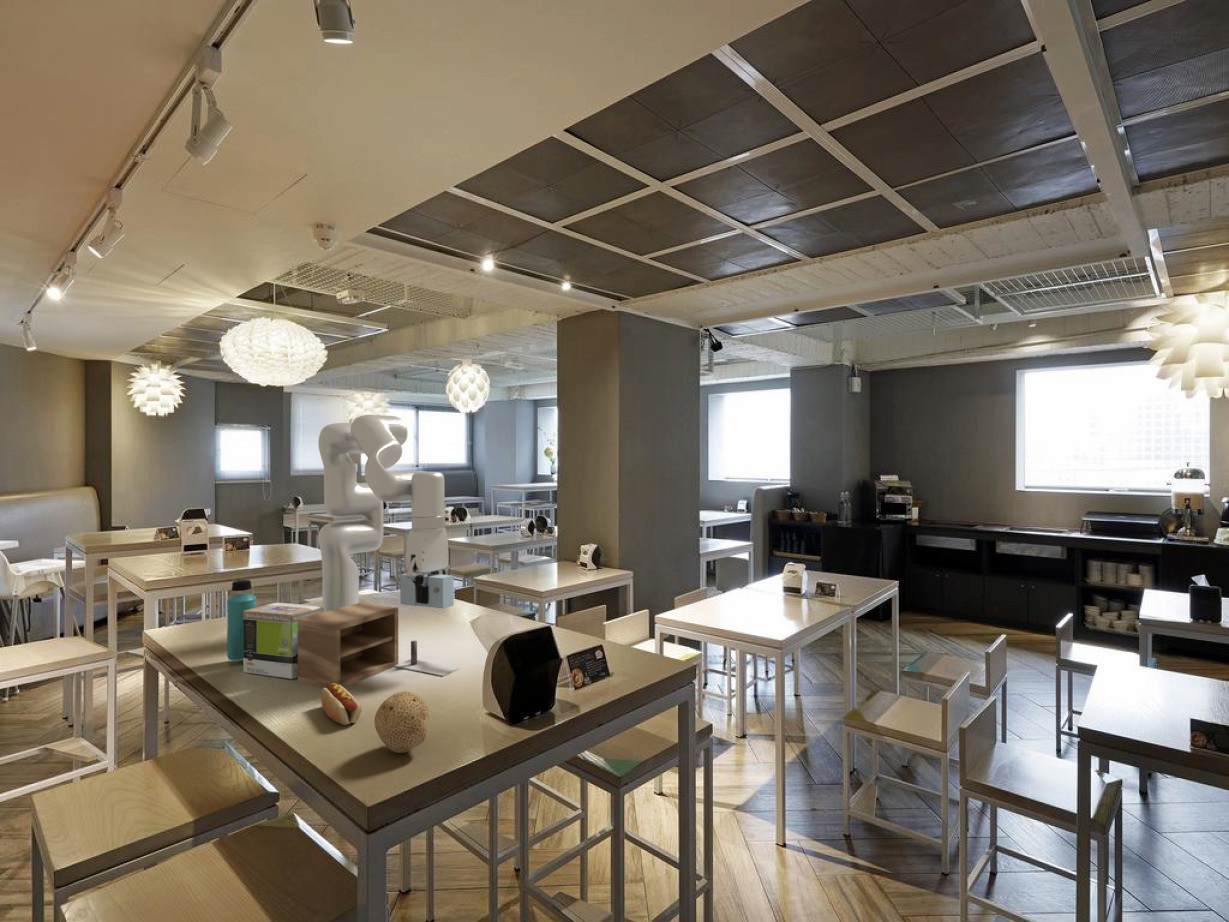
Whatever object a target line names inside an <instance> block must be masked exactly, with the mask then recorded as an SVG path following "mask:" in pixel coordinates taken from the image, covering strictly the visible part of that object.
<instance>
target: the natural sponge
mask: <svg viewBox="0 0 1229 922" xmlns="http://www.w3.org/2000/svg"><path fill="white" fill-rule="evenodd" d="M429 721H430V710H429V707H428V705H427V703H426V701H425V699H423V698H422V697H421V696H419V695H418V694H415V693H414V692H411V691H406V690H405V691H400V692H395V693H394V694H392V695H390V696H389V697H387V698H386V699H385V700H384V701H383V702H382V703H381V704H380V705H379V707H378V709H377V711H376V713H375V716H374V728H375V731H376V733H377V734H378V737H379V739H380V741H382V743H383V744H384V745H385V746H386V748H388V749H389V750H390V751H392V752H394V753H397V754H405V753H407V752H409V751H411V750H412V749H414V748H416V747H419V745H422V743H424V742H425V741H426V738H427V735H428V729H429Z"/></svg>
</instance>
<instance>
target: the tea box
mask: <svg viewBox="0 0 1229 922" xmlns="http://www.w3.org/2000/svg"><path fill="white" fill-rule="evenodd" d="M323 612H324V606H323V605H314V604H313V605H312V604H303V603H301V604H300V603H291V602H272V603H270V604H269V603H268V604H265V605H261V606H258V607H257V606H256V608H253V609H249V610H245V611H243V660H242V662H243V664H242V665H243V673H247V674H254V675H261V676H268V677H276V678H284V679H288V680H289V679H290V680H294V679H296V678H298V619H301V618H304V617H308V616H312V615H316V614H320V613H323Z"/></svg>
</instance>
